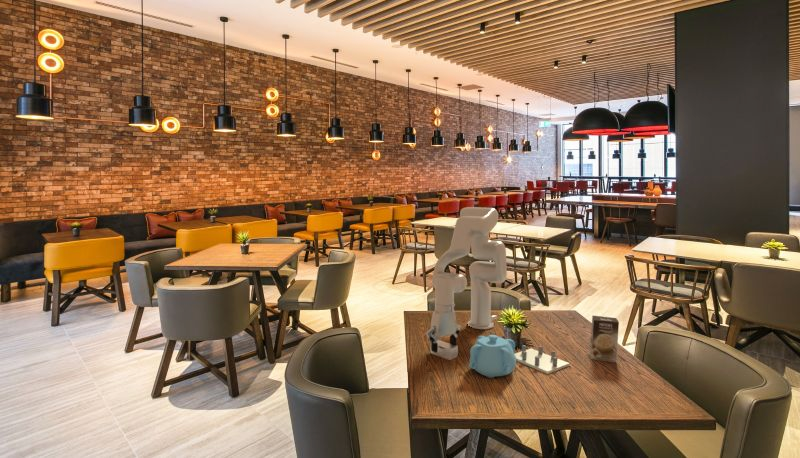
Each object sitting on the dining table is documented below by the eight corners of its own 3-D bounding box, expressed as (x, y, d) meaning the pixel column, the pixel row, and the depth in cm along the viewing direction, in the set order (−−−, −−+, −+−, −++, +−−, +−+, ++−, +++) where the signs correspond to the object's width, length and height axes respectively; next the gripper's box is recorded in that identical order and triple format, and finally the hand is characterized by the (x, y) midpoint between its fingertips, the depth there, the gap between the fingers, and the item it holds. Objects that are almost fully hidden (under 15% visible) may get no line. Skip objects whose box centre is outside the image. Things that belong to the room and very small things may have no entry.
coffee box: (591, 359, 170) (592, 319, 168) (589, 353, 176) (591, 315, 174) (617, 362, 167) (619, 322, 165) (614, 356, 173) (616, 317, 171)
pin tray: (531, 350, 179) (531, 341, 179) (569, 365, 164) (569, 355, 164) (509, 357, 172) (509, 348, 171) (547, 374, 157) (547, 363, 157)
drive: (438, 350, 180) (438, 339, 180) (457, 356, 173) (457, 346, 173) (430, 353, 177) (430, 343, 176) (450, 360, 170) (450, 349, 169)
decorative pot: (508, 385, 149) (509, 347, 147) (464, 375, 156) (464, 339, 155) (519, 367, 163) (520, 332, 161) (478, 359, 170) (479, 326, 169)
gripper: (454, 302, 181) (453, 342, 183) (421, 308, 171) (421, 350, 173) (466, 306, 175) (466, 347, 176) (433, 313, 165) (432, 356, 167)
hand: (443, 349), depth 175 cm, fingers open, 9 cm apart
